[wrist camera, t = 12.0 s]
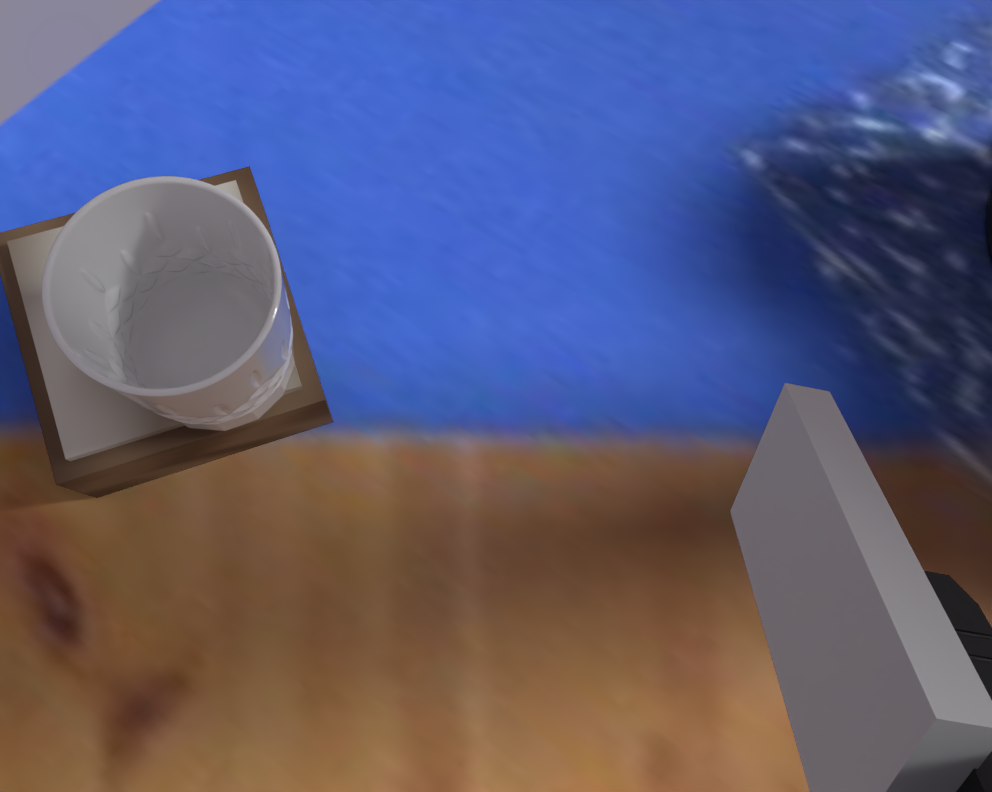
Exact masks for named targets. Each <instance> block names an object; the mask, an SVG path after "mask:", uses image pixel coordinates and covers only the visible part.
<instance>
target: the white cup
mask: <svg viewBox="0 0 992 792" xmlns="http://www.w3.org/2000/svg"><path fill="white" fill-rule="evenodd" d="M42 302H43V309H44V313H45V317H46V321H47V324H48V326H49V329H50V331H51V333H52V335H53V337H54V339H55V341H56V343H57V344H58V346H59V347H60V349H61V350H62V352H63V353H64V354H65V355H66V357H67V358H68V359H69V360H70V361H71V362H72V363H73V364H74V365H75V366H76V367H77V368H79V369H80V370H81V371H82V372H84V373H85V374H86V375H88V376H89V377H91V378H92V379H94V380H96V381H97V382H99V383H101V384H103V385H105V386H107V387H108V388H110V389H112V390H114V391H116V392H117V393H119V394H121V395H123V396H124V397H126V398H128V399H130V400H132V401H134V402H135V403H137V404H139V405H141V406H142V407H144V408H146V409H148V410H150V411H153V412H155V413H157V414H159V415H161V416H163V417H166V418H168V419H172V420H175V421H178V422H180V423H182V424H183V425H185V426H187V427H188V428H195V429H206V430H217V431H227V430H230V429H233V428H235V427H238V426H241V425H244V424H247V423H250V422H252V421H255V420H258V419H259V418H260V417H261V416H262V415H264V414H265V413H266V412H267V411H268V410H269V409H270V408H271V407H272V406H273V405H274V404H275V403H276V402H277V401H278V400H279V399H280V398H281V397H282V396H283V395H284V392H285V390H286V387H287V384H288V382H289V379H290V376H291V374H292V371H293V368H294V366H295V359H294V350H293V327H292V320H291V315H290V306H289V301H288V297H287V292H286V288H285V284H284V280H283V275H282V271H281V266H280V261H279V257H278V253H277V250H276V248H275V245H274V243H273V240H272V238H271V236H270V234H269V233H268V231H267V229H266V228H265V226H264V225H263V223H262V222H261V221H260V219H259V218H258V217H257V216H256V215H255V213H254V212H253V211H252V210H251V209H250V208H249V207H247V206H246V205H245V204H244V203H243V202H242V201H240V200H239V199H237V198H236V197H235V196H233V195H231V194H230V193H228V192H226V191H225V190H223V189H221V188H218V187H216V186H214V185H211V184H209V183H206V182H202V181H199V180H195V179H190V178H184V177H173V176H159V177H149V178H142V179H138V180H133V181H130V182H126V183H123V184H121V185H118V186H116V187H113V188H111V189H109V190H107V191H105V192H103V193H101V194H100V195H98V196H96V197H95V198H93V199H92V200H90V201H89V202H88V203H86V204H85V205H84V206H83V207H81V208H80V209H79V210H78V211H77V212H76V213H75V214H74V215H73V216H72V217H71V218H70V219H69V220H68V222H67V223H66V224H65V225H64V227H63V228H62V230H61V231H60V232H59V234H58V236H57V237H56V239H55V241H54V243H53V245H52V247H51V249H50V252H49V254H48V257H47V260H46V263H45V267H44V272H43V279H42Z"/></svg>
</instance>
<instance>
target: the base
mask: <svg viewBox="0 0 992 792" xmlns="http://www.w3.org/2000/svg"><path fill="white" fill-rule="evenodd" d="M199 181H202V182H206V183H209V184H211V185H214V186H216V187H218V188H221V189H223V190H225V191H226V192H228V193H230V194H231V195H233V196H235V197H236V198H237V199H239V200H240V201H242V202H243V203H244V204H245V205H246V206H247V207H249V208H250V209H251V210H252V211H253V212H254V213H255V215H256V216H257V217H258V218H259V219H260V221H261V222H262V223H263V225H264V226H265V228H266V229H267V231H268V233H269V234H270V236H271V238H272V240H273V243H274V245H275V248H276V250H277V247H276V244H275V241H274V238H273V235H272V232H271V229H270V225H269V222H268V219H267V216H266V213H265V210H264V207H263V204H262V201H261V198H260V196H259V193H258V190H257V187H256V184H255V181H254V178H253V175H252V172H251V169H250V166H249V167H246V168H242V169H238V170H234V171H231V172H227V173H223V174H219V175H216V176H212V177H208V178H204V179H200V180H199ZM74 214H75V213H73V214H69V215H65V216H61V217H58V218H54V219H50V220H46V221H43V222H39V223H35V224H31V225H28V226H24V227H20V228H16V229H13V230H9V231H5V232H1V233H0V275H1V278H2V282H3V286H4V290H5V293H6V297H7V301H8V305H9V308H10V312H11V316H12V320H13V324H14V327H15V331H16V335H17V339H18V342H19V346H20V350H21V354H22V357H23V361H24V365H25V369H26V372H27V376H28V380H29V384H30V388H31V391H32V395H33V399H34V403H35V406H36V410H37V414H38V418H39V421H40V425H41V429H42V433H43V436H44V440H45V444H46V448H47V452H48V455H49V459H50V463H51V467H52V470H53V474H54V478H55V482H56V485H59V486H62V487H65V488H68V489H71V490H74V491H77V492H80V493H83V494H86V495H90V496H93V497H96V498H97V497H101V496H104V495H107V494H110V493H113V492H116V491H119V490H122V489H126V488H129V487H132V486H135V485H138V484H141V483H144V482H147V481H150V480H154V479H157V478H160V477H163V476H166V475H169V474H172V473H175V472H179V471H182V470H185V469H188V468H191V467H194V466H197V465H200V464H204V463H207V462H210V461H213V460H216V459H219V458H222V457H225V456H228V455H232V454H235V453H238V452H241V451H244V450H247V449H250V448H253V447H257V446H260V445H263V444H266V443H269V442H272V441H275V440H278V439H282V438H285V437H288V436H291V435H294V434H297V433H300V432H303V431H307V430H310V429H313V428H316V427H319V426H322V425H325V424H328V423H331V422H333V420H332V417H331V413H330V410H329V407H328V404H327V401H326V398H325V395H324V392H323V389H322V386H321V383H320V380H319V376H318V373H317V370H316V367H315V364H314V361H313V358H312V355H311V352H310V349H309V346H308V343H307V340H306V336H305V333H304V330H303V327H302V324H301V321H300V318H299V315H298V312H297V309H296V306H295V303H294V299H293V296H292V293H291V290H290V287H289V284H288V281H287V278H286V275H285V272H284V269H283V266H282V262H281V259H280V256H279V253H278V250H277V253H278V257H279V261H280V266H281V271H282V275H283V280H284V284H285V288H286V292H287V297H288V301H289V306H290V315H291V320H292V327H293V350H294V359H295V366H294V368H293V371H292V374H291V376H290V379H289V382H288V384H287V387H286V390H285V392H284V395H283V396H282V397H281V398H280V399H279V400H278V401H277V402H276V403H275V404H274V405H273V406H272V407H271V408H270V409H269V410H268V411H267V412H266V413H265V414H264V415H262V416H261V417H260V418H259V419H258V420H255V421H252V422H250V423H247V424H244V425H241V426H238V427H235V428H233V429H230V430H227V431H217V430H206V429H195V428H188V427H187V426H185V425H183V424H182V423H180V422H178V421H175V420H172V419H168V418H166V417H163V416H161V415H159V414H157V413H155V412H153V411H150V410H148V409H146V408H144V407H142V406H141V405H139V404H137V403H135V402H134V401H132V400H130V399H128V398H126V397H124V396H123V395H121V394H119V393H117V392H116V391H114V390H112V389H110V388H108V387H107V386H105V385H103V384H101V383H99V382H97V381H96V380H94V379H92V378H91V377H89V376H88V375H86V374H85V373H84V372H82V371H81V370H80V369H79V368H77V367H76V366H75V365H74V364H73V363H72V362H71V361H70V360H69V359H68V358H67V357H66V355H65V354H64V353H63V352H62V350H61V349H60V347H59V346H58V344H57V343H56V341H55V339H54V337H53V335H52V333H51V331H50V329H49V326H48V324H47V321H46V317H45V313H44V309H43V302H42V279H43V272H44V267H45V263H46V260H47V257H48V254H49V252H50V249H51V247H52V245H53V243H54V241H55V239H56V237H57V236H58V234H59V232H60V231H61V230H62V228H63V227H64V225H65V224H66V223H67V222H68V220H69V219H70V218H71V217H72V216H73V215H74Z"/></svg>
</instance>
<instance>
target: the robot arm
mask: <svg viewBox="0 0 992 792" xmlns="http://www.w3.org/2000/svg"><path fill="white" fill-rule="evenodd" d="M987 238H988V244H989V249H990V254H991V257H992V190H991V193H990V197H989V202H988V208H987ZM730 513H731V516H732V520H733V523H734V527H735V530H736V534H737V537H738V541H739V544H740V548H741V551H742V555H743V558H744V562H745V565H746V569H747V573H748V576H749V580H750V583H751V587H752V590H753V594H754V597H755V601H756V604H757V608H758V611H759V615H760V618H761V622H762V625H763V629H764V632H765V636H766V639H767V643H768V646H769V650H770V653H771V657H772V660H773V664H774V667H775V671H776V675H777V678H778V682H779V685H780V689H781V692H782V696H783V699H784V703H785V706H786V710H787V713H788V717H789V720H790V724H791V727H792V731H793V734H794V738H795V741H796V745H797V748H798V752H799V755H800V759H801V762H802V766H803V770H804V773H805V777H806V780H807V784H808V787H809V791H810V792H992V628H991V626H990V624H989V622H988V621H987V619H986V617H985V615H984V614H983V612H982V610H981V608H980V607H979V605H978V604H977V603H976V602H975V601H974V600H973V599H972V598H971V597H970V596H969V595H968V594H967V593H966V592H965V591H964V590H963V589H962V588H961V587H960V586H959V585H958V584H957V583H956V582H955V581H954V580H953V579H952V578H951V577H950V576H949V575H944V574H939V573H933V572H927V571H924V570H923V569H922V567H921V565H920V563H919V561H918V559H917V557H916V555H915V553H914V551H913V549H912V548H911V546H910V544H909V542H908V540H907V538H906V536H905V534H904V532H903V530H902V528H901V527H900V525H899V523H898V521H897V519H896V517H895V515H894V513H893V511H892V509H891V508H890V506H889V504H888V502H887V500H886V498H885V496H884V494H883V492H882V490H881V488H880V487H879V485H878V483H877V481H876V479H875V477H874V475H873V473H872V471H871V469H870V467H869V466H868V464H867V462H866V460H865V458H864V456H863V454H862V452H861V450H860V448H859V447H858V445H857V443H856V441H855V439H854V437H853V435H852V433H851V431H850V429H849V427H848V426H847V424H846V422H845V420H844V418H843V416H842V414H841V412H840V410H839V408H838V407H837V405H836V403H835V401H834V399H833V397H832V395H831V393H830V391H825V390H820V389H814V388H809V387H804V386H799V385H793V384H788V383H785V384H784V386H783V389H782V391H781V393H780V396H779V398H778V400H777V403H776V405H775V407H774V410H773V412H772V414H771V417H770V419H769V421H768V424H767V426H766V428H765V431H764V433H763V435H762V438H761V440H760V442H759V445H758V447H757V449H756V452H755V454H754V456H753V459H752V461H751V463H750V466H749V468H748V470H747V473H746V475H745V477H744V480H743V482H742V485H741V487H740V489H739V492H738V494H737V496H736V499H735V501H734V503H733V506H732V508H731V510H730Z"/></svg>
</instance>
